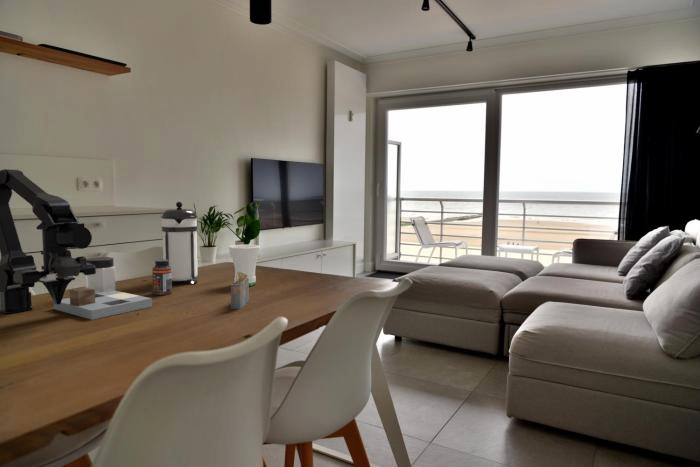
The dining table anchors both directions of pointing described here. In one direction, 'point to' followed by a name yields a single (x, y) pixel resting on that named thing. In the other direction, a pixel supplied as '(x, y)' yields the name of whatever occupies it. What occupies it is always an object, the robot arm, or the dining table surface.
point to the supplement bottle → (162, 278)
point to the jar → (101, 274)
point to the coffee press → (180, 242)
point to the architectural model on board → (240, 292)
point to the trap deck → (106, 305)
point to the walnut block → (82, 296)
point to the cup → (245, 260)
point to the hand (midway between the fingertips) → (57, 304)
